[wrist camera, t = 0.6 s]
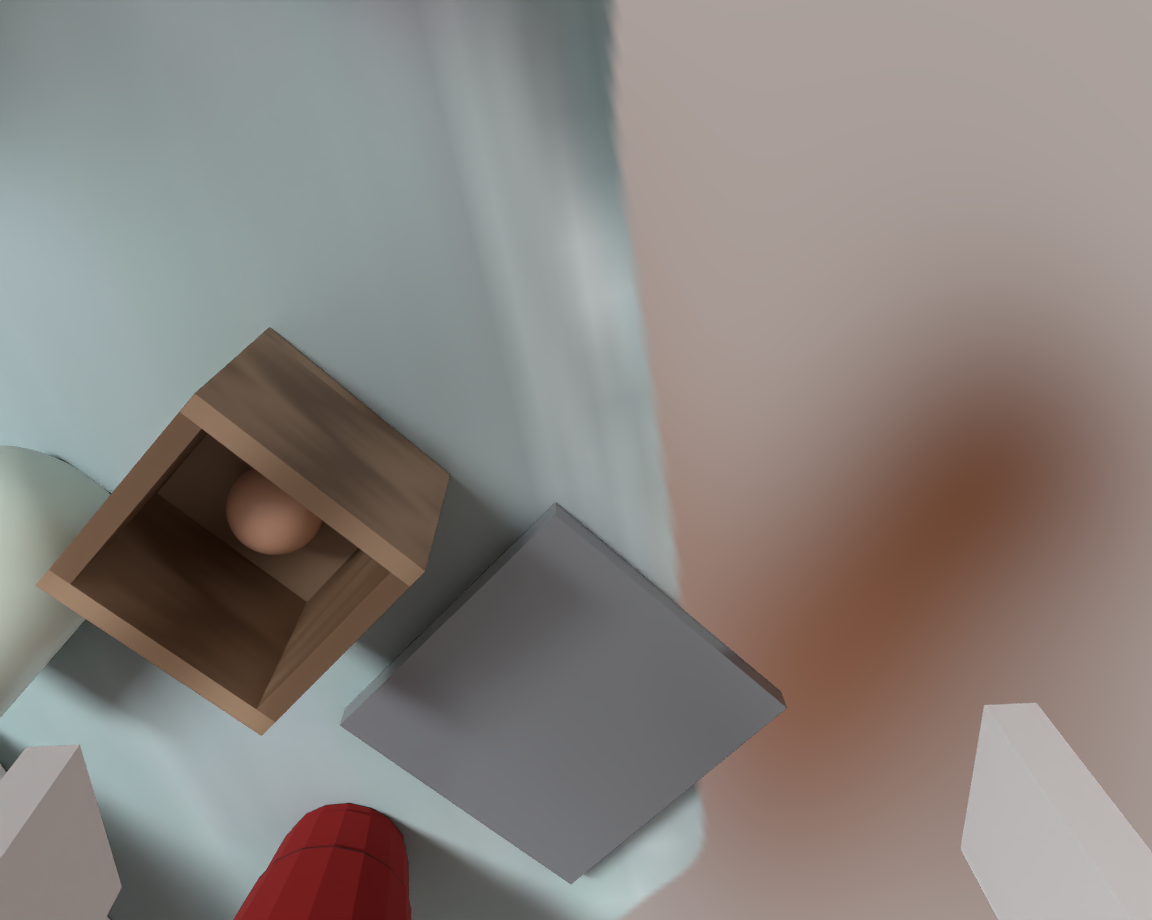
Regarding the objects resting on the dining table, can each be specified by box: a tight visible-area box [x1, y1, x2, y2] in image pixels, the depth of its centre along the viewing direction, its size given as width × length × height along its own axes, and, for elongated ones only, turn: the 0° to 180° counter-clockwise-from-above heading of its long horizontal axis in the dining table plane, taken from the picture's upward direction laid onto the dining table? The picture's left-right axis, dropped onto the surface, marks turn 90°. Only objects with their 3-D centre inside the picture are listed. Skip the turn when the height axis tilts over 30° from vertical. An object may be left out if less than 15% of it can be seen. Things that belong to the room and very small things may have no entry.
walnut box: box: [35, 327, 450, 736], centre depth 34 cm, size 9×9×8 cm
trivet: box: [340, 502, 787, 884], centre depth 42 cm, size 14×14×1 cm
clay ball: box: [226, 467, 323, 555], centre depth 35 cm, size 4×4×4 cm
